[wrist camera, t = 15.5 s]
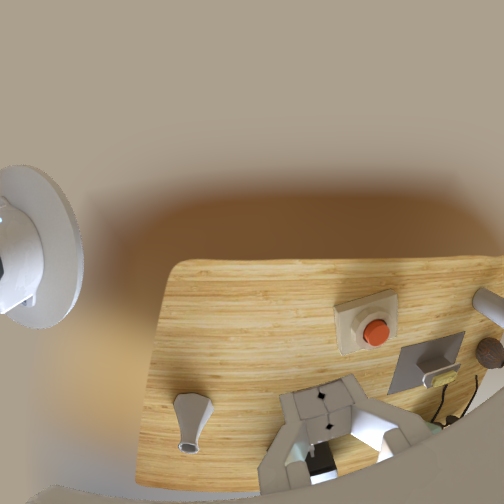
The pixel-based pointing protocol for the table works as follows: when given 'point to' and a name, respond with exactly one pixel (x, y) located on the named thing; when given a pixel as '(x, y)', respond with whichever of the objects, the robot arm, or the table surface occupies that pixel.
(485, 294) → the beverage can
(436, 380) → the platform
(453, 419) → the eyeglasses
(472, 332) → the table surface
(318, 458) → the cabinet drawer
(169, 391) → the table surface
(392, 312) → the block
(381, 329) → the button
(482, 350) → the vase
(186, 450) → the flask
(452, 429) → the robot arm
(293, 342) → the table surface
